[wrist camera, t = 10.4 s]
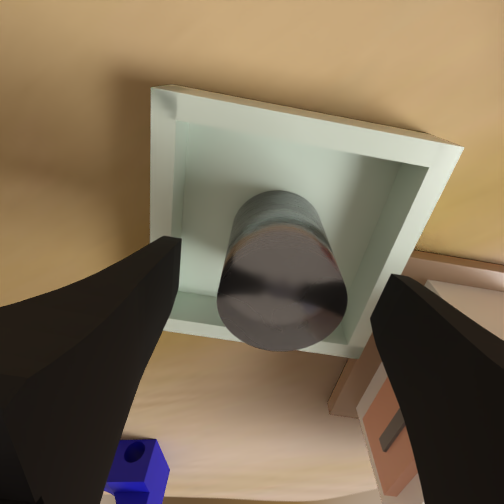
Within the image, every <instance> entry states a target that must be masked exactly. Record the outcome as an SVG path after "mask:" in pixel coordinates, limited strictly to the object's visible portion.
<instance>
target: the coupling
mask: <svg viewBox="0 0 504 504" xmlns="http://www.w3.org/2000/svg"><path fill="white" fill-rule="evenodd" d="M347 303H348V295H347V289H346V286H345V283H344V281H343V278H342V275H341V273H340V270H339V267H338V265H337V262H336V259H335V257H334V254H333V252H332V249H331V246H330V244H329V241H328V238H327V236H326V233H325V230H324V228H323V225H322V223H321V220H320V217H319V215H318V213H317V211H316V209H315V208H314V207H313V205H312V204H311V203H310V202H309V201H307V200H306V199H305V198H303V197H302V196H300V195H298V194H295V193H293V192H289V191H283V190H273V191H267V192H263V193H260V194H258V195H255V196H254V197H252V198H250V199H249V200H248V201H246V202H245V203H244V204H243V205H242V206H241V208H240V209H239V210H238V212H237V214H236V215H235V218H234V221H233V225H232V229H231V234H230V238H229V243H228V247H227V252H226V256H225V261H224V265H223V270H222V274H221V279H220V283H219V288H218V292H217V309H218V313H219V316H220V318H221V320H222V322H223V323H224V325H225V327H226V328H227V329H228V330H229V331H230V332H231V333H232V334H233V335H234V336H235V337H237V338H238V339H239V340H241V341H243V342H245V343H246V344H248V345H251V346H253V347H256V348H259V349H264V350H269V351H293V350H299V349H303V348H306V347H309V346H312V345H314V344H316V343H318V342H320V341H322V340H323V339H325V338H326V337H327V336H329V335H330V334H331V333H332V332H333V331H334V330H335V329H336V328H337V327H338V325H339V324H340V322H341V321H342V319H343V317H344V315H345V312H346V309H347Z"/></svg>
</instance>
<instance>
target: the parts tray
mask: <svg viewBox="0 0 504 504" xmlns="http://www.w3.org/2000/svg"><path fill="white" fill-rule="evenodd" d="M463 149H464V147H463V146H460V145H457V144H455V143H452V142H449V141H447V140H444V139H441V138H439V137H436V136H434V135H431V134H428V133H423V132H417V131H412V130H407V129H402V128H397V127H391V126H386V125H381V124H376V123H371V122H365V121H360V120H355V119H350V118H345V117H339V116H334V115H329V114H324V113H319V112H314V111H308V110H303V109H298V108H293V107H288V106H282V105H277V104H272V103H267V102H262V101H256V100H251V99H246V98H241V97H236V96H230V95H225V94H220V93H215V92H210V91H204V90H199V89H194V88H189V87H184V86H179V85H173V84H170V85H163V86H156V87H151V148H150V243H152V242H153V241H155V240H157V239H158V238H160V237H162V236H170V237H176V238H182V245H181V260H180V276H179V289H178V292H177V295H176V298H175V302H174V305H173V308H172V311H171V314H170V316H169V318H168V320H167V323H166V325H165V327H164V329H163V331H170V332H176V333H183V334H190V335H197V336H204V337H210V338H217V339H224V340H231V341H238V342H243V341H241V340H239V339H238V338H237V337H235V336H234V335H233V334H232V333H231V332H230V331H229V330H228V329H227V328H226V327H225V325H224V323H223V322H222V320H221V318H220V316H219V313H218V309H217V292H218V288H219V283H220V279H221V274H222V270H223V265H224V261H225V256H226V252H227V247H228V243H229V238H230V234H231V229H232V225H233V221H234V218H235V215H236V214H237V212H238V210H239V209H240V208H241V206H242V205H243V204H244V203H245V202H246V201H248V200H249V199H250V198H252V197H254V196H255V195H258V194H260V193H263V192H267V191H273V190H283V191H289V192H293V193H295V194H298V195H300V196H302V197H303V198H305V199H306V200H307V201H309V202H310V203H311V204H312V205H313V207H314V208H315V209H316V211H317V213H318V215H319V217H320V220H321V223H322V225H323V228H324V230H325V233H326V236H327V238H328V241H329V244H330V246H331V249H332V252H333V254H334V257H335V259H336V262H337V265H338V267H339V270H340V273H341V275H342V278H343V281H344V283H345V286H346V289H347V295H348V303H347V309H346V312H345V315H344V317H343V319H342V321H341V322H340V324H339V325H338V327H337V328H336V329H335V330H334V331H333V332H332V333H331V334H330V335H329V336H327V337H326V338H325V339H323V340H322V341H320V342H318V343H316V344H314V345H312V346H309V347H306V348H303V349H299V351H305V352H312V353H319V354H326V355H333V356H339V357H346V358H353V359H359V358H360V356H361V354H362V352H363V350H364V348H365V346H366V344H367V342H368V340H369V338H370V336H371V334H372V327H371V322H370V317H371V315H372V312H373V310H374V308H375V306H376V304H377V302H378V300H379V298H380V296H381V294H382V292H383V289H384V287H385V285H386V283H387V281H388V279H389V277H390V275H391V273H392V274H398V275H401V273H402V271H403V269H404V267H405V265H406V263H407V261H408V259H409V257H410V255H411V253H412V251H413V249H414V247H415V245H416V243H417V241H418V239H419V237H420V235H421V233H422V231H423V229H424V227H425V225H426V223H427V221H428V219H429V217H430V215H431V213H432V211H433V209H434V207H435V205H436V203H437V201H438V199H439V197H440V195H441V193H442V191H443V189H444V187H445V185H446V183H447V181H448V179H449V177H450V175H451V173H452V171H453V169H454V167H455V165H456V163H457V161H458V159H459V157H460V155H461V153H462V151H463ZM244 343H245V342H244Z"/></svg>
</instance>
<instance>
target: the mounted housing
mask: <svg viewBox="0 0 504 504" xmlns="http://www.w3.org/2000/svg"><path fill="white" fill-rule="evenodd" d="M401 275H404V276H409V277H411V278H412V279H414V280H416V281H417V282H419V283H421V284H422V285H424V286H425V287H427V288H428V289H430V290H431V291H432V292H434V293H435V294H437V295H438V296H439V297H441V298H442V299H444V300H445V301H446V302H448V303H449V304H451V305H452V306H453V307H455V308H456V309H458V310H459V311H460V312H462V313H463V314H465V315H466V316H468V317H469V318H470V319H472V320H473V321H475V322H476V323H478V324H479V325H481V326H482V327H484V328H485V329H487V330H488V331H490V332H491V333H493V334H494V335H496V336H497V337H499V338H500V339H502V340H503V341H504V265H499V264H493V263H487V262H481V261H475V260H469V259H463V258H458V257H452V256H446V255H440V254H434V253H428V252H422V251H416V250H413V251H412V253H411V255H410V257H409V259H408V261H407V263H406V265H405V267H404V269H403V271H402V273H401ZM328 409H329V414H330V415H337V416H344V417H351V418H359V421H360V424H361V428H362V432H363V435H364V439H365V443H366V446H367V450H368V454H369V457H370V461H371V465H372V468H373V472H374V476H375V479H376V483H377V486H378V490H379V494H380V497H381V501H382V504H425V502H424V498H423V493H422V488H421V484H420V479H419V475H418V471H417V467H416V463H415V459H414V455H413V451H412V447H411V443H410V440H409V436H408V432H407V429H406V425H405V421H404V418H403V415H402V412H401V410H400V407H399V404H398V401H397V399H396V396H395V394H394V391H393V389H392V386H391V383H390V381H389V378H388V376H387V373H386V371H385V368H384V366H383V363H382V360H381V358H380V355H379V352H378V350H377V347H376V344H375V340H374V336H373V332H372V334H371V336H370V338H369V340H368V342H367V344H366V346H365V348H364V350H363V352H362V354H361V356H360V358H359V359H353V358H349V359H348V361H347V363H346V365H345V367H344V369H343V371H342V373H341V376H340V378H339V380H338V382H337V384H336V386H335V388H334V390H333V392H332V395H331V397H330V399H329V401H328Z"/></svg>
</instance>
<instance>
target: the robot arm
mask: <svg viewBox="0 0 504 504" xmlns="http://www.w3.org/2000/svg"><path fill="white" fill-rule="evenodd" d="M181 245H182V238H176V237H170V236H162V237H160V238H158V239H157V240H155V241H153V242H152V243H150V244H148V245H147V246H145V247H143V248H142V249H140V250H138V251H137V252H135V253H133V254H132V255H130V256H128V257H126V258H125V259H123V260H121V261H119V262H117V263H115V264H113V265H111V266H109V267H107V268H106V269H104V270H102V271H100V272H98V273H96V274H94V275H91V276H89V277H87V278H85V279H82V280H80V281H77V282H75V283H73V284H70V285H68V286H65V287H62V288H60V289H57V290H54V291H51V292H48V293H45V294H42V295H39V296H36V297H33V298H30V299H27V300H24V301H21V302H17V303H14V304H10V305H7V306H3V307H0V504H100V501H101V498H102V495H103V491H104V488H105V485H106V482H107V479H108V476H109V472H110V469H111V466H112V463H113V460H114V457H115V453H116V450H117V447H118V444H119V441H120V438H121V435H122V432H123V429H124V426H125V423H126V420H127V417H128V414H129V411H130V408H131V405H132V402H133V400H134V397H135V394H136V391H137V388H138V385H139V382H140V380H141V377H142V375H143V373H144V370H145V368H146V366H147V364H148V361H149V359H150V357H151V355H152V353H153V351H154V349H155V346H156V344H157V342H158V340H159V338H160V336H161V334H162V331H163V329H164V327H165V325H166V323H167V320H168V318H169V316H170V314H171V311H172V308H173V305H174V302H175V298H176V295H177V292H178V289H179V276H180V260H181ZM370 322H371V327H372V332H373V336H374V340H375V344H376V347H377V350H378V352H379V355H380V358H381V360H382V363H383V366H384V368H385V371H386V373H387V376H388V378H389V381H390V383H391V386H392V389H393V391H394V394H395V396H396V399H397V401H398V404H399V407H400V410H401V412H402V415H403V418H404V421H405V425H406V429H407V432H408V436H409V440H410V443H411V447H412V451H413V455H414V459H415V463H416V467H417V471H418V475H419V479H420V484H421V488H422V493H423V498H424V502H425V504H504V341H503V340H502V339H500V338H499V337H497V336H496V335H494V334H493V333H491V332H490V331H488V330H487V329H485V328H484V327H482V326H481V325H479V324H478V323H476V322H475V321H473V320H472V319H470V318H469V317H468V316H466V315H465V314H463V313H462V312H460V311H459V310H458V309H456V308H455V307H453V306H452V305H451V304H449V303H448V302H446V301H445V300H444V299H442V298H441V297H439V296H438V295H437V294H435V293H434V292H432V291H431V290H430V289H428V288H427V287H425V286H424V285H422V284H421V283H419V282H417V281H416V280H414V279H412V278H411V277H409V276H404V275H398V274H392V273H391V275H390V277H389V279H388V281H387V283H386V285H385V287H384V289H383V292H382V294H381V296H380V298H379V300H378V302H377V304H376V306H375V308H374V310H373V312H372V315H371V317H370Z"/></svg>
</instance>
